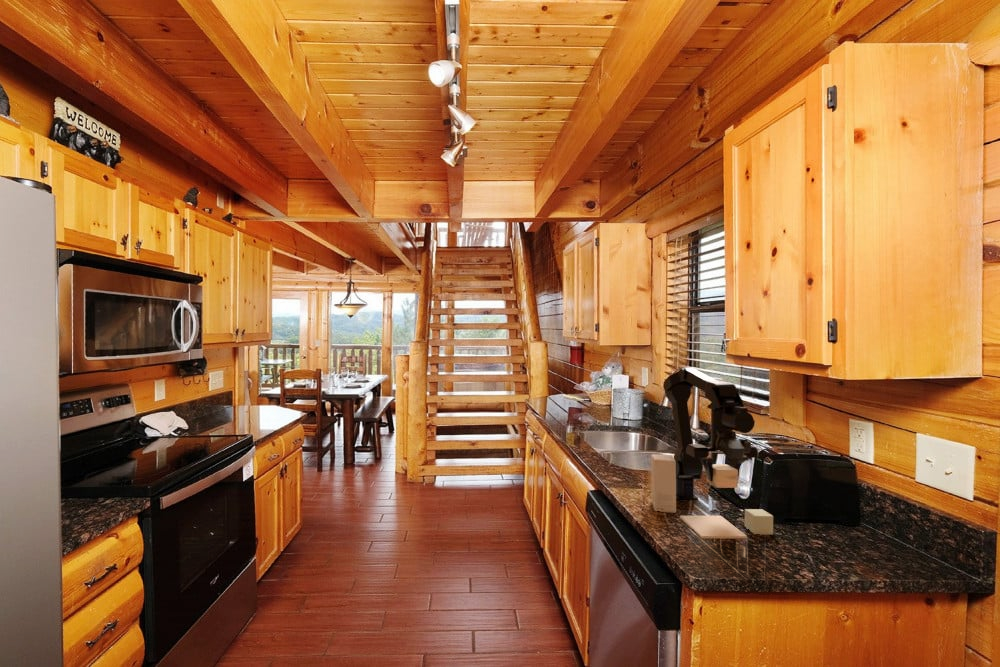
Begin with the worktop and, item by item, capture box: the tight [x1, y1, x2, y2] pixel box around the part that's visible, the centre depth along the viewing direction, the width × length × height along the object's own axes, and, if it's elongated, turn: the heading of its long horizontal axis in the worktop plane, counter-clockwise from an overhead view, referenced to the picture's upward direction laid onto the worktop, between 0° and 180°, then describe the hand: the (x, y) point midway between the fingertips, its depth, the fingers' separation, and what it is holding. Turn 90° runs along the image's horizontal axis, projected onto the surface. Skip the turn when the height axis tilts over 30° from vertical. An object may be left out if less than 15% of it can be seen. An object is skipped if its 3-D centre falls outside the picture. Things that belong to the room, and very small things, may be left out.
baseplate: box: [679, 515, 748, 539], centre depth 132 cm, size 14×12×1 cm
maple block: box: [706, 463, 739, 489], centre depth 138 cm, size 6×6×5 cm
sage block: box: [743, 508, 774, 535], centre depth 131 cm, size 5×5×5 cm
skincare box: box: [650, 454, 677, 514], centre depth 147 cm, size 8×7×16 cm
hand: (721, 480), depth 138 cm, fingers closed on maple block, 6 cm apart
